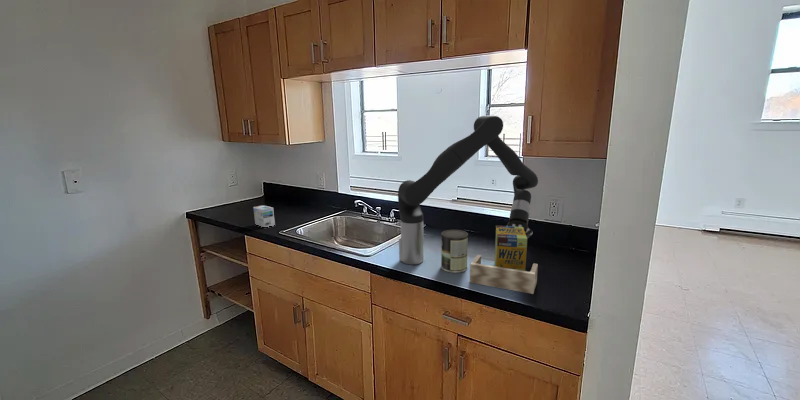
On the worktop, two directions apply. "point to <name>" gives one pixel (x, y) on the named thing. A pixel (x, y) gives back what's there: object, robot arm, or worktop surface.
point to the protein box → (510, 247)
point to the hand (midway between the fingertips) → (513, 249)
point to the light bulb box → (264, 216)
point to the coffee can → (454, 250)
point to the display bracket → (503, 276)
